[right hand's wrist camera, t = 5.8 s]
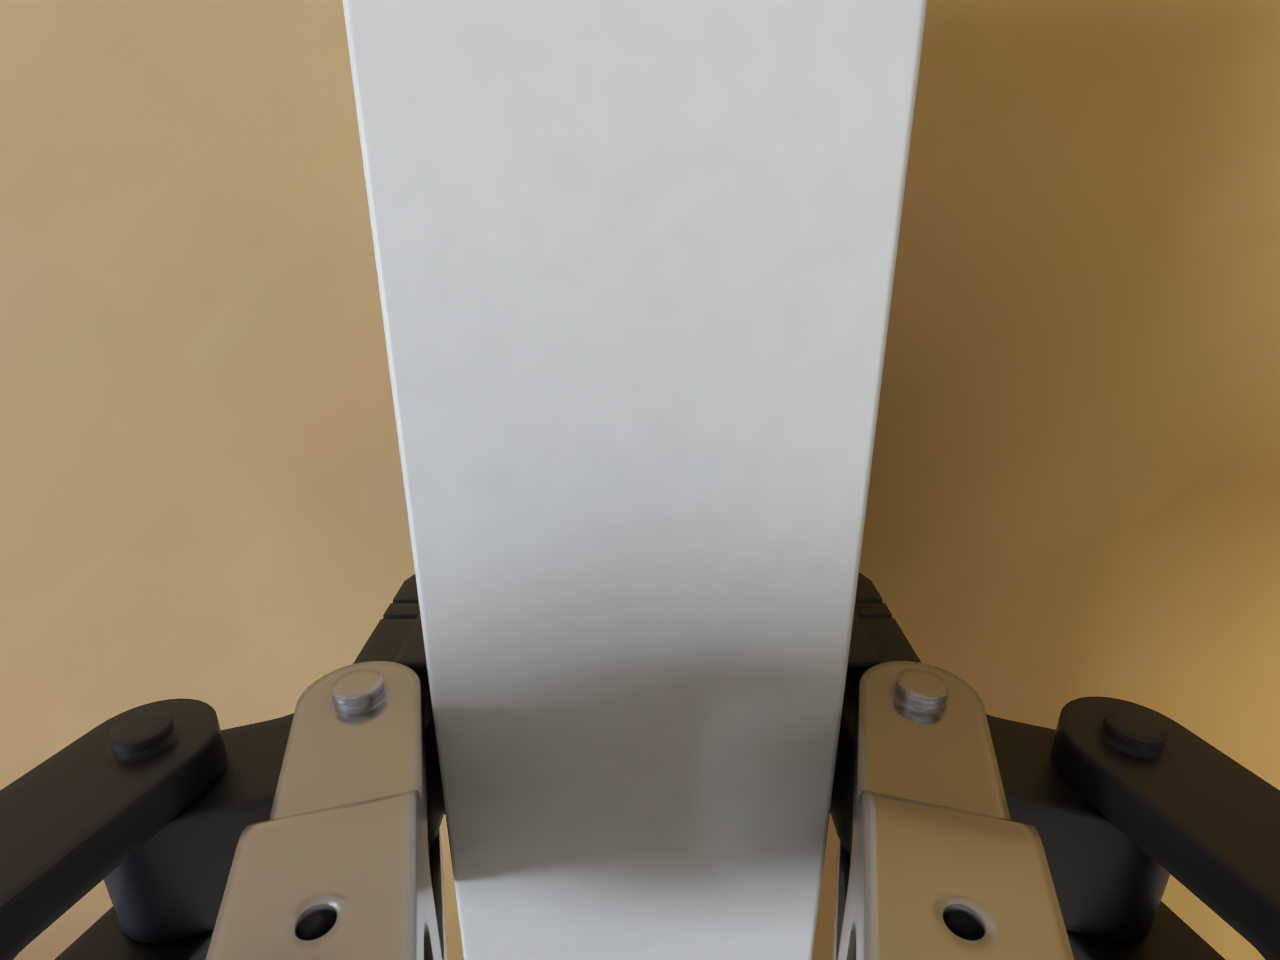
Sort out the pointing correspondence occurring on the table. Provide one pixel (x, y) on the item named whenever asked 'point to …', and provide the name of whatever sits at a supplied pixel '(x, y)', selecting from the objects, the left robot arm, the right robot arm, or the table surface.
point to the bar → (636, 439)
